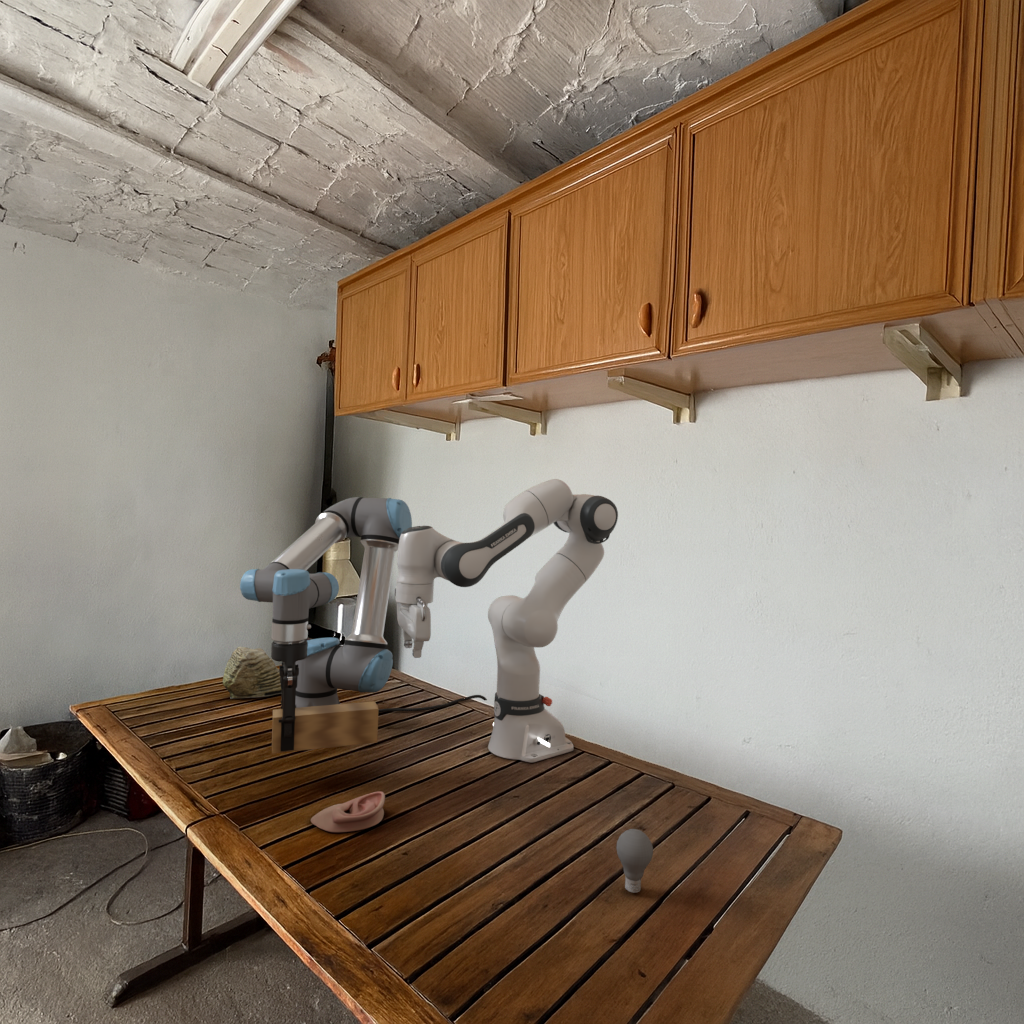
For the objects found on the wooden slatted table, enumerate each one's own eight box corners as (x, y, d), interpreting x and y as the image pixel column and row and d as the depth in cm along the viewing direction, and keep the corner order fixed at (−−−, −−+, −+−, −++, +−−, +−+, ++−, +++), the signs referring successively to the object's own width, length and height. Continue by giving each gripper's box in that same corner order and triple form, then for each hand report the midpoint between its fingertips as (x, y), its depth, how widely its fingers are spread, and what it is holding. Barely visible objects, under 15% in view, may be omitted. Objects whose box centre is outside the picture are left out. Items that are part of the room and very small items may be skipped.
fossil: (218, 695, 195) (220, 647, 195) (278, 685, 208) (279, 640, 207) (228, 703, 189) (230, 653, 188) (289, 692, 201) (290, 645, 201)
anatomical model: (303, 807, 121) (332, 781, 132) (302, 827, 121) (331, 800, 132) (368, 817, 118) (392, 790, 129) (367, 838, 118) (391, 809, 129)
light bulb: (610, 879, 108) (613, 822, 108) (644, 879, 109) (647, 822, 109) (619, 902, 102) (622, 840, 102) (655, 901, 103) (658, 840, 103)
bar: (272, 753, 136) (273, 717, 136) (271, 744, 141) (272, 709, 141) (377, 742, 144) (378, 708, 144) (373, 733, 149) (374, 701, 149)
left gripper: (310, 649, 132) (307, 759, 133) (305, 630, 149) (302, 728, 150) (272, 651, 129) (268, 764, 130) (271, 631, 146) (268, 731, 147)
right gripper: (438, 601, 141) (436, 662, 142) (418, 587, 161) (415, 642, 161) (410, 601, 139) (408, 664, 139) (393, 588, 158) (391, 643, 159)
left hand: (286, 744), depth 140 cm, fingers closed on bar, 5 cm apart
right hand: (412, 652), depth 150 cm, fingers open, 8 cm apart
